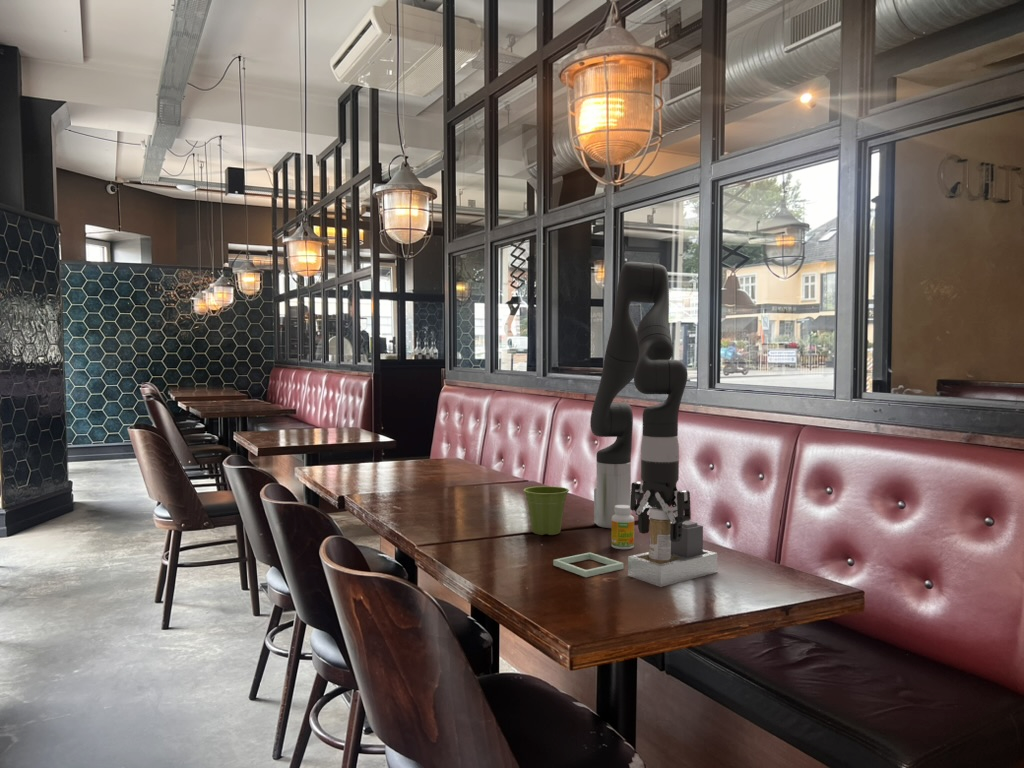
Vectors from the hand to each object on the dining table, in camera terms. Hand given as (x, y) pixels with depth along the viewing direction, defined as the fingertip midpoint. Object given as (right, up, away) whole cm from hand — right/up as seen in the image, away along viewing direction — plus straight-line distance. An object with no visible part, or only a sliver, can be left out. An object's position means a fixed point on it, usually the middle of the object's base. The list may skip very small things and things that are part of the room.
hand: (659, 537), depth 142 cm
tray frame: (-14, -8, +7) cm, 18 cm away
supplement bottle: (-4, -8, +24) cm, 26 cm away
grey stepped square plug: (+7, -8, +5) cm, 12 cm away
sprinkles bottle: (0, -8, 0) cm, 8 cm away
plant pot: (-21, -8, +39) cm, 45 cm away
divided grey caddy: (+3, -8, +2) cm, 9 cm away
